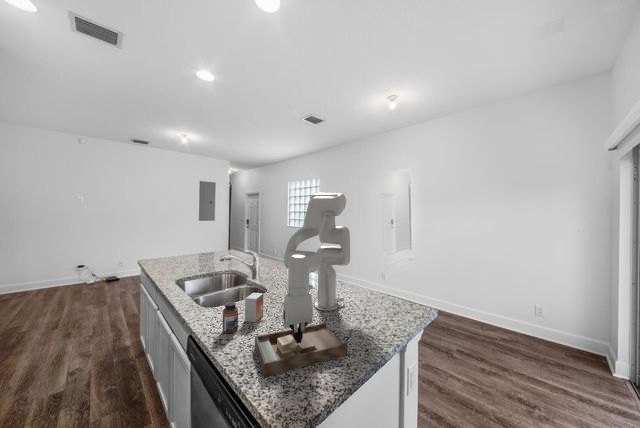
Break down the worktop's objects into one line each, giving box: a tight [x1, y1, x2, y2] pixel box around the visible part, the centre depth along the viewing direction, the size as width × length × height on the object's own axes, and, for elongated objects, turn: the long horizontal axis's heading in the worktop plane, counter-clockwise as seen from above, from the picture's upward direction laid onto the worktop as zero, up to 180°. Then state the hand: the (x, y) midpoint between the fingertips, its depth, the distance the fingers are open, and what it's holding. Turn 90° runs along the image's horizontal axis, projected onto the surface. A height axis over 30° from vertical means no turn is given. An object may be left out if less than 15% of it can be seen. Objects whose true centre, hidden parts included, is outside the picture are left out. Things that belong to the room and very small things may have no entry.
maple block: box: [277, 335, 296, 354], centre depth 85 cm, size 5×5×3 cm
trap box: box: [254, 322, 348, 378], centre depth 88 cm, size 29×17×4 cm, turn 114°
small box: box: [244, 292, 264, 323], centre depth 113 cm, size 8×6×10 cm
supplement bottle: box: [222, 301, 239, 334], centre depth 102 cm, size 6×6×11 cm
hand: (297, 341), depth 87 cm, fingers closed
